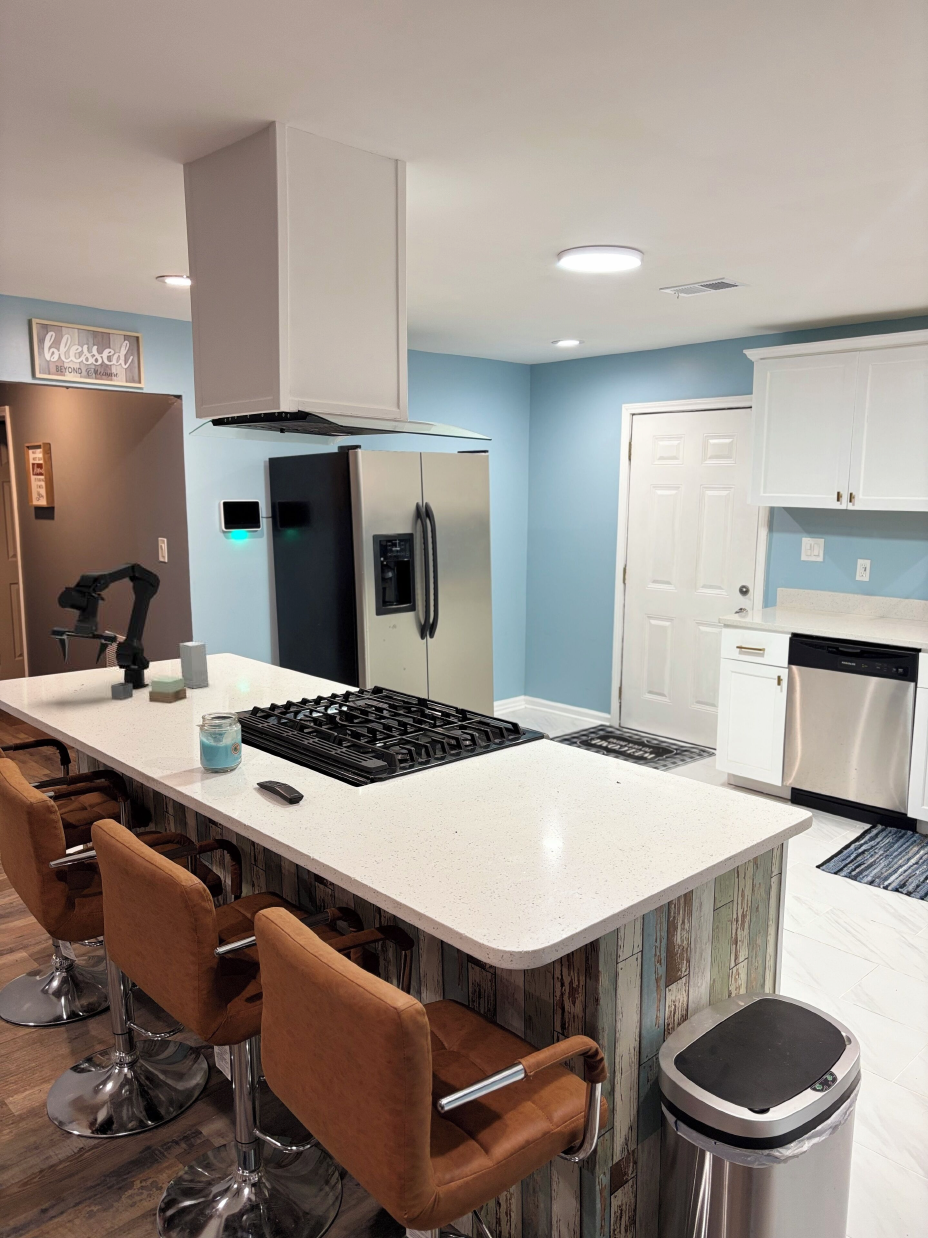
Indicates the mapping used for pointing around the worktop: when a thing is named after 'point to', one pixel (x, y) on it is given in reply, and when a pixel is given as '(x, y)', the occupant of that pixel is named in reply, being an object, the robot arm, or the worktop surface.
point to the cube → (122, 691)
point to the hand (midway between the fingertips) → (80, 663)
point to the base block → (167, 696)
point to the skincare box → (194, 664)
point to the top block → (167, 684)
